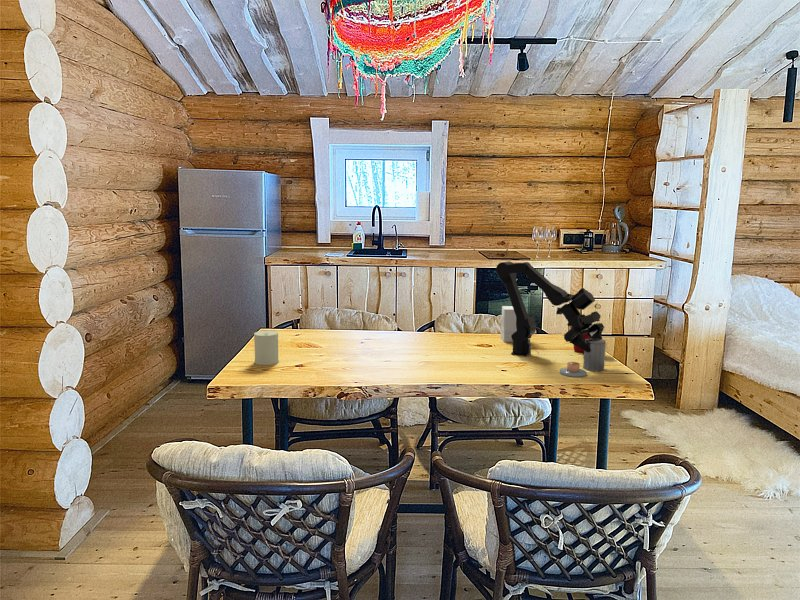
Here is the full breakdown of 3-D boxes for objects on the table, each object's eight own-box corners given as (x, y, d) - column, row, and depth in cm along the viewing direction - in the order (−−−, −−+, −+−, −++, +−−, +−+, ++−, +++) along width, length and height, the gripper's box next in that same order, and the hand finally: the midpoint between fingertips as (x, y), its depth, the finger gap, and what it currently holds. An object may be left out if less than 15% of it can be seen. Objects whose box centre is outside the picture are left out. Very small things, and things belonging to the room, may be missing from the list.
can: (255, 366, 240) (254, 335, 238) (253, 359, 249) (253, 329, 247) (279, 364, 242) (279, 333, 240) (277, 358, 251) (277, 328, 249)
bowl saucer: (556, 374, 234) (556, 364, 234) (563, 368, 243) (564, 358, 242) (582, 378, 230) (583, 368, 229) (589, 372, 238) (589, 362, 237)
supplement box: (520, 337, 292) (521, 305, 290) (523, 342, 284) (525, 309, 281) (500, 337, 293) (501, 305, 290) (503, 342, 284) (504, 309, 281)
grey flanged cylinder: (581, 369, 242) (583, 341, 240) (586, 364, 248) (588, 337, 246) (601, 372, 238) (603, 343, 236) (605, 367, 244) (607, 339, 243)
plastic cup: (562, 349, 272) (563, 321, 270) (583, 347, 276) (585, 320, 274) (577, 355, 262) (579, 327, 260) (599, 353, 266) (601, 325, 264)
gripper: (572, 307, 237) (595, 341, 230) (601, 302, 248) (625, 335, 242) (553, 324, 244) (576, 358, 238) (583, 319, 256) (605, 351, 249)
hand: (596, 350), depth 241 cm, fingers open, 9 cm apart
